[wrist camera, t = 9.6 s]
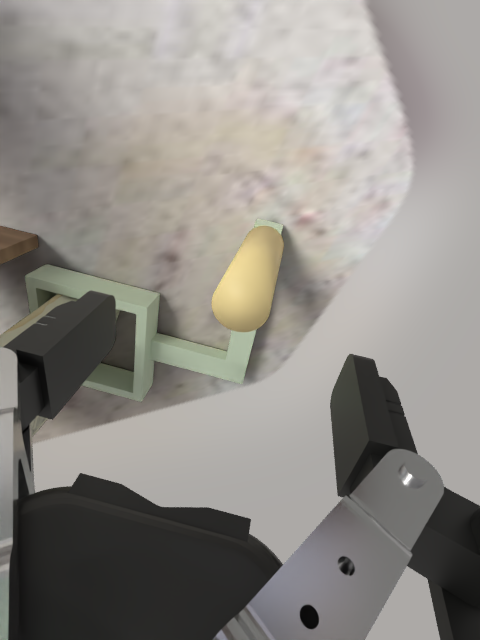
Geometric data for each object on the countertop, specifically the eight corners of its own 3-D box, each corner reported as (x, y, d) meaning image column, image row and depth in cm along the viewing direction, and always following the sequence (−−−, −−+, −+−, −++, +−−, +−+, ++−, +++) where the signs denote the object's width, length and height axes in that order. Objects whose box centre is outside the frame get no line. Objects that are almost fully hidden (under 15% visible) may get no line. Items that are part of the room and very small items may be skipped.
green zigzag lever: (36, 164, 24) (-119, 187, 15) (289, 226, 23) (276, 287, 14) (56, 357, 33) (-36, 441, 24) (240, 407, 32) (214, 514, 23)
